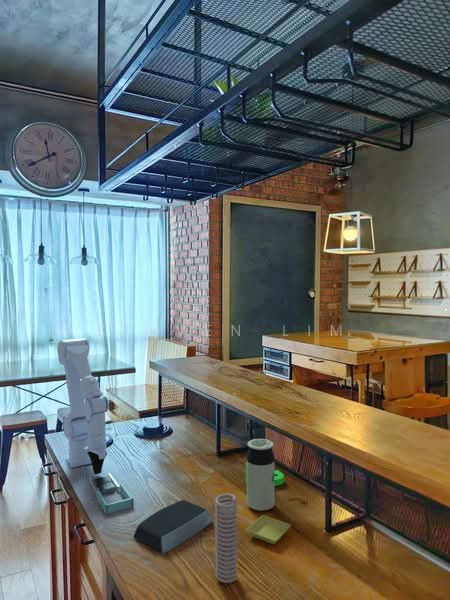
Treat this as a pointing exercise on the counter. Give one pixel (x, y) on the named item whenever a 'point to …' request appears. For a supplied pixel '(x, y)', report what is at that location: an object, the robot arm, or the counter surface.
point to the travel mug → (260, 474)
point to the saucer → (268, 529)
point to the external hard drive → (172, 525)
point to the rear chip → (102, 480)
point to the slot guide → (111, 481)
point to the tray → (118, 505)
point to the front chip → (106, 488)
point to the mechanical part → (277, 477)
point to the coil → (226, 538)
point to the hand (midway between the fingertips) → (97, 472)
